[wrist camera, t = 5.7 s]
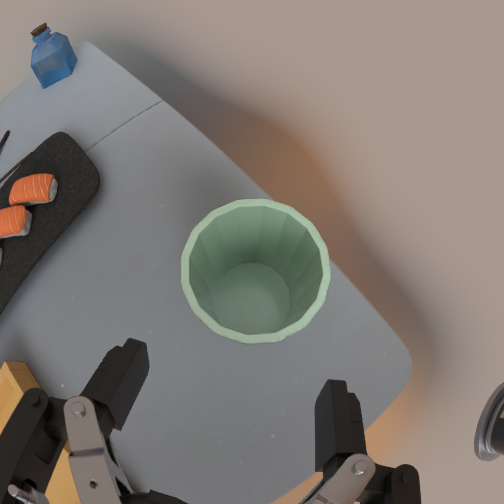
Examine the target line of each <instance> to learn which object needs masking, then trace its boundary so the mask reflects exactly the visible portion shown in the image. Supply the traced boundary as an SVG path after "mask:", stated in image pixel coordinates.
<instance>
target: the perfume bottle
mask: <svg viewBox="0 0 504 504" xmlns="http://www.w3.org/2000/svg"><path fill="white" fill-rule="evenodd" d="M31 34H32V35H33V36H34V37H33V38H32V39H33V41H34V42H36V44H37V45H36V46H35V47H34V49H33V50H32V57H31V68H32V69H33V71H34V73H35V75H36V76H37V78H38V80H39V82H40V83H41V85H42V87H43V88H46V87H48V86H49V85H51V84H53V83H55V82H57V81H59V80H61V79H63V78H65V77H67V76H69V75H71V74H72V71H73V68H74V65H75V63H76V60H77V59H76V56H75V54H74V52H73V50H72V47H71V45H70V43H69V41H68V38H67V36H65V35H62V34H60V33H58V32H55V33H53V34H51V35H50V28H49V27H47V25H46V23H44V24H42V25H40V26H39V27H37V28H36V29H34V30H33V31H32V32H31Z"/></svg>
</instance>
